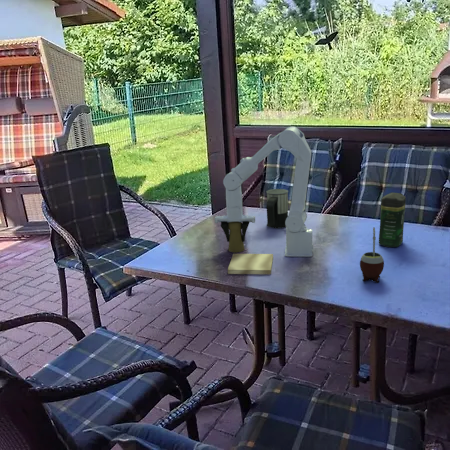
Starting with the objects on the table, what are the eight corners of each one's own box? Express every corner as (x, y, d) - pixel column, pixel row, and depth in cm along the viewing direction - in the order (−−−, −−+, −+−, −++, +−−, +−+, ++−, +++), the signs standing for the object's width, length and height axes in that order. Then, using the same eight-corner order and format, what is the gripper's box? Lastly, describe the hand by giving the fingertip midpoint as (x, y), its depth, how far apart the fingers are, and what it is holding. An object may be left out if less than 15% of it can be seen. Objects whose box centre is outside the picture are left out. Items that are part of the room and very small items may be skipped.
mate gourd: (369, 285, 147) (371, 238, 142) (352, 276, 154) (354, 231, 149) (389, 280, 149) (392, 234, 145) (372, 271, 156) (374, 227, 152)
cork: (243, 252, 178) (241, 223, 174) (226, 252, 179) (225, 223, 175) (245, 246, 183) (244, 218, 180) (229, 246, 184) (228, 218, 181)
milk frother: (267, 222, 211) (266, 188, 206) (304, 221, 208) (304, 187, 204) (265, 233, 197) (264, 197, 193) (305, 232, 195) (305, 196, 190)
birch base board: (273, 258, 171) (273, 254, 171) (270, 274, 158) (270, 270, 158) (233, 257, 174) (233, 253, 173) (227, 273, 160) (227, 269, 160)
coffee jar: (398, 249, 173) (402, 198, 167) (376, 246, 177) (378, 196, 171) (405, 240, 181) (408, 192, 175) (383, 238, 185) (385, 190, 179)
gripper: (255, 202, 178) (256, 237, 183) (216, 202, 181) (218, 237, 185) (253, 207, 172) (254, 243, 176) (213, 207, 174) (215, 243, 178)
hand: (236, 240), depth 180 cm, fingers closed on cork, 5 cm apart
